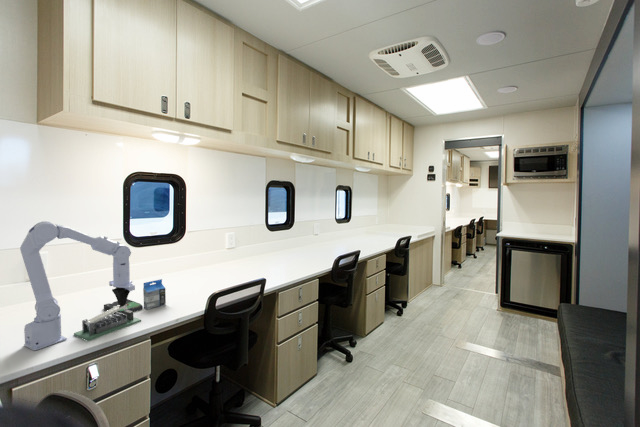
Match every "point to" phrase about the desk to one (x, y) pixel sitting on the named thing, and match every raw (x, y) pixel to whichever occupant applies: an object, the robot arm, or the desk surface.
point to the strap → (106, 314)
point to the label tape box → (154, 294)
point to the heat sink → (104, 324)
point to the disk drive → (130, 305)
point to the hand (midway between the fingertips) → (122, 304)
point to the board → (130, 321)
